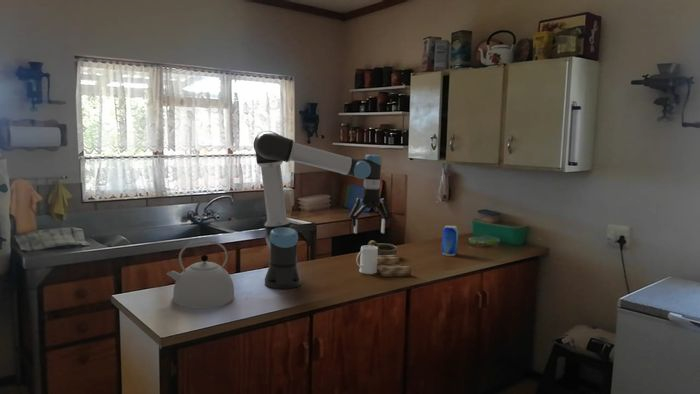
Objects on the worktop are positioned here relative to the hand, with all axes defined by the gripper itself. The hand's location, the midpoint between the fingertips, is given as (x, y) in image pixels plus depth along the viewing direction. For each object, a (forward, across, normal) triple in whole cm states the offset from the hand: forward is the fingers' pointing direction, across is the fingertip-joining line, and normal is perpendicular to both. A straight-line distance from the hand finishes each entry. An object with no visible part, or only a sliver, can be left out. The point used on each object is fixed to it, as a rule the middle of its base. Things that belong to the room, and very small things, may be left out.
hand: (369, 232), depth 239 cm
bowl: (+19, +16, +25) cm, 35 cm away
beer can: (+19, +57, +27) cm, 66 cm away
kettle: (+20, -76, -25) cm, 82 cm away
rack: (+19, +12, +3) cm, 23 cm away
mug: (+19, -1, 0) cm, 19 cm away
